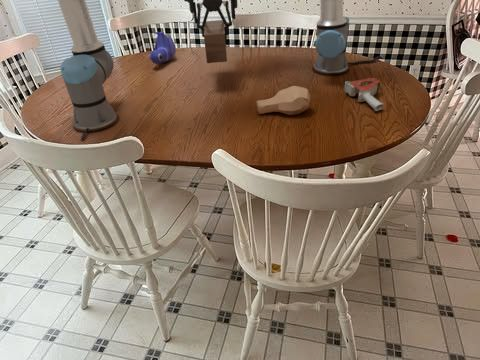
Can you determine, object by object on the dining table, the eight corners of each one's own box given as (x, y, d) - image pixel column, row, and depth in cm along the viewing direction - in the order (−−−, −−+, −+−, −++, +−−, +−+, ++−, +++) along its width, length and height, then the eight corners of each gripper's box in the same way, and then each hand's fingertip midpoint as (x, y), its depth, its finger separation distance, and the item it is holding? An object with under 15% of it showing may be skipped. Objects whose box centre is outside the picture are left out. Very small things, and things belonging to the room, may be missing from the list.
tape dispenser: (379, 117, 128) (393, 93, 140) (382, 104, 124) (396, 81, 137) (332, 106, 135) (349, 84, 148) (334, 93, 132) (351, 72, 144)
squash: (314, 116, 128) (313, 95, 122) (259, 125, 130) (256, 105, 124) (308, 99, 136) (307, 78, 129) (257, 108, 138) (253, 88, 131)
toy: (164, 64, 198) (143, 70, 176) (159, 31, 191) (137, 33, 169) (180, 63, 196) (162, 69, 173) (176, 30, 189) (156, 32, 167)
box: (227, 61, 144) (224, 33, 138) (207, 63, 144) (203, 35, 138) (225, 45, 164) (223, 19, 158) (207, 46, 164) (205, 21, 157)
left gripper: (243, -54, 119) (246, 14, 131) (168, -49, 114) (178, 22, 127) (249, -53, 113) (251, 18, 125) (170, -47, 108) (181, 26, 121)
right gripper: (235, -17, 150) (239, 39, 164) (186, -13, 150) (193, 43, 163) (236, -14, 144) (240, 43, 158) (185, -10, 144) (192, 47, 157)
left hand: (215, 20), depth 126 cm, fingers open, 13 cm apart
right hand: (216, 43), depth 160 cm, fingers closed on box, 8 cm apart
